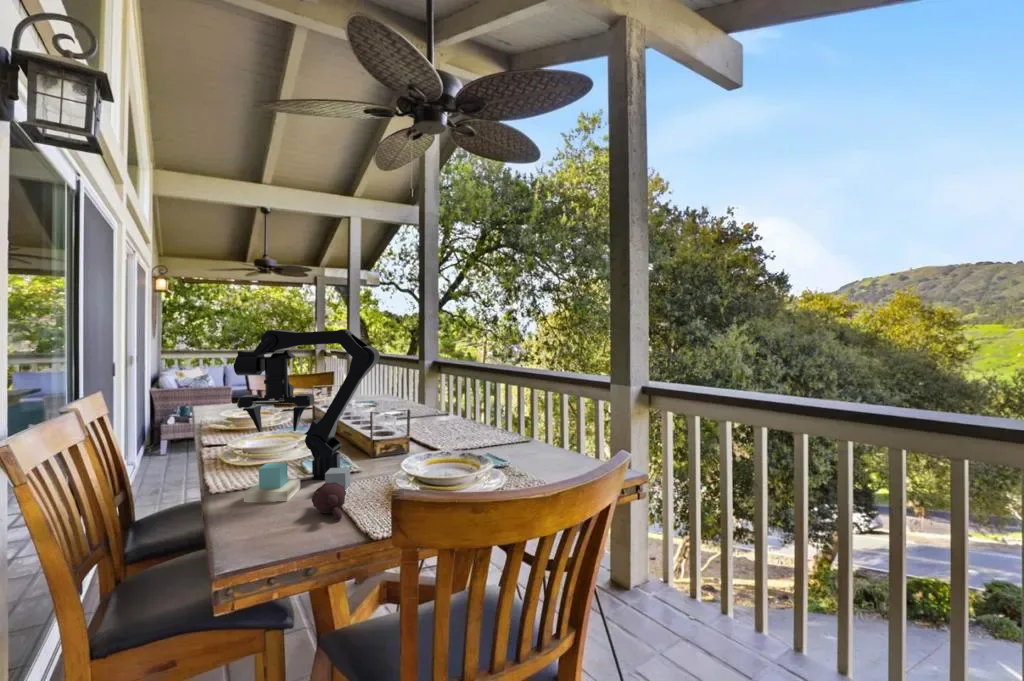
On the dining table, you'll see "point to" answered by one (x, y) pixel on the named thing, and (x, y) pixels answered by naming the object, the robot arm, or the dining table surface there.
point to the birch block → (272, 492)
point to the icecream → (330, 499)
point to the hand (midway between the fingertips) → (277, 431)
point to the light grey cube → (338, 476)
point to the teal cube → (273, 475)
